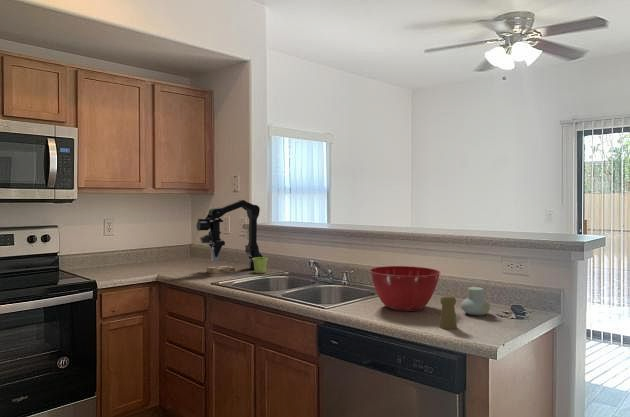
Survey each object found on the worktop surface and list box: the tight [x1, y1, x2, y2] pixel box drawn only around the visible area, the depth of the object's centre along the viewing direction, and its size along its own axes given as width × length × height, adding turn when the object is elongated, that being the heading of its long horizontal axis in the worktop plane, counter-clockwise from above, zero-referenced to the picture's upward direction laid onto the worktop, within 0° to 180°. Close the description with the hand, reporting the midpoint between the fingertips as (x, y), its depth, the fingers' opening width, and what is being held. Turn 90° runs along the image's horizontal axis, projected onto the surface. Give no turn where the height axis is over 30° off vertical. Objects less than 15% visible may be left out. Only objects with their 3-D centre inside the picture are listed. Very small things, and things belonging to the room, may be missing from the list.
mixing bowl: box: [369, 265, 441, 312], centre depth 201 cm, size 28×28×15 cm
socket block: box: [206, 265, 236, 275], centre depth 289 cm, size 14×10×3 cm
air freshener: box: [460, 286, 491, 317], centre depth 191 cm, size 11×8×10 cm
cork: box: [438, 294, 458, 330], centre depth 172 cm, size 6×6×11 cm
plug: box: [210, 247, 220, 262], centre depth 287 cm, size 4×4×8 cm
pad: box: [228, 271, 248, 276], centre depth 284 cm, size 9×9×1 cm
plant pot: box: [252, 256, 269, 274], centre depth 288 cm, size 9×9×9 cm
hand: (215, 256), depth 287 cm, fingers closed on plug, 4 cm apart
